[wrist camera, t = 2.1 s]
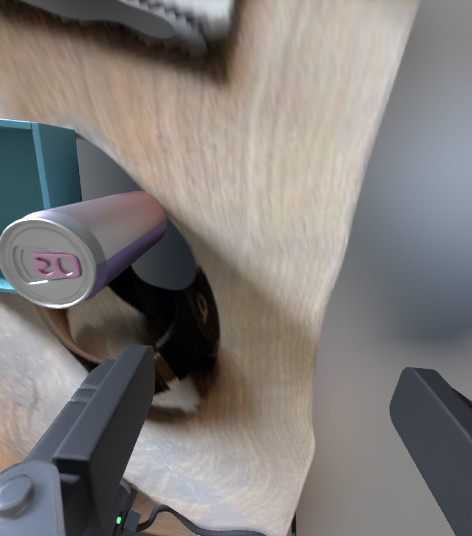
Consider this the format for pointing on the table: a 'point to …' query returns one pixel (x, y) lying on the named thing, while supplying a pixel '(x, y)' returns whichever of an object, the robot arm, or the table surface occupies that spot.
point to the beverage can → (79, 247)
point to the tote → (35, 172)
